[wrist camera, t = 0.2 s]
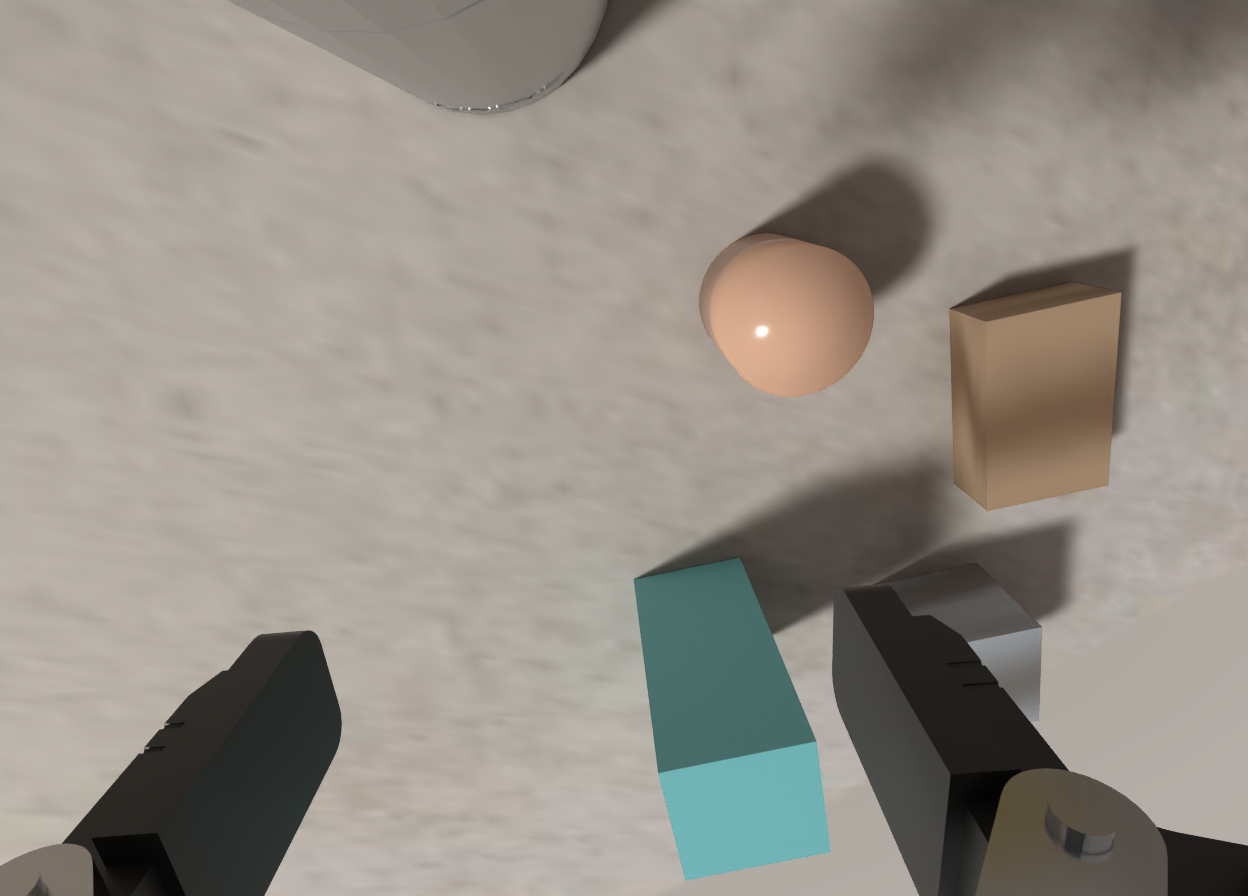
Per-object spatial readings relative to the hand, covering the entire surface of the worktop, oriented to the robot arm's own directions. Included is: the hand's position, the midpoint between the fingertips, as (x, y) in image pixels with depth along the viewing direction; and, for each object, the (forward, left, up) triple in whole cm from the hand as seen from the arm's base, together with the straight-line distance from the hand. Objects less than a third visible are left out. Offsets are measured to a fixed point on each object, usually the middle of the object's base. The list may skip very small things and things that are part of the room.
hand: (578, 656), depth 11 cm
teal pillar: (+13, +3, -18) cm, 22 cm away
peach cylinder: (-1, +8, -18) cm, 20 cm away
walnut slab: (+5, +18, -19) cm, 26 cm away
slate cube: (+16, +14, -18) cm, 28 cm away
